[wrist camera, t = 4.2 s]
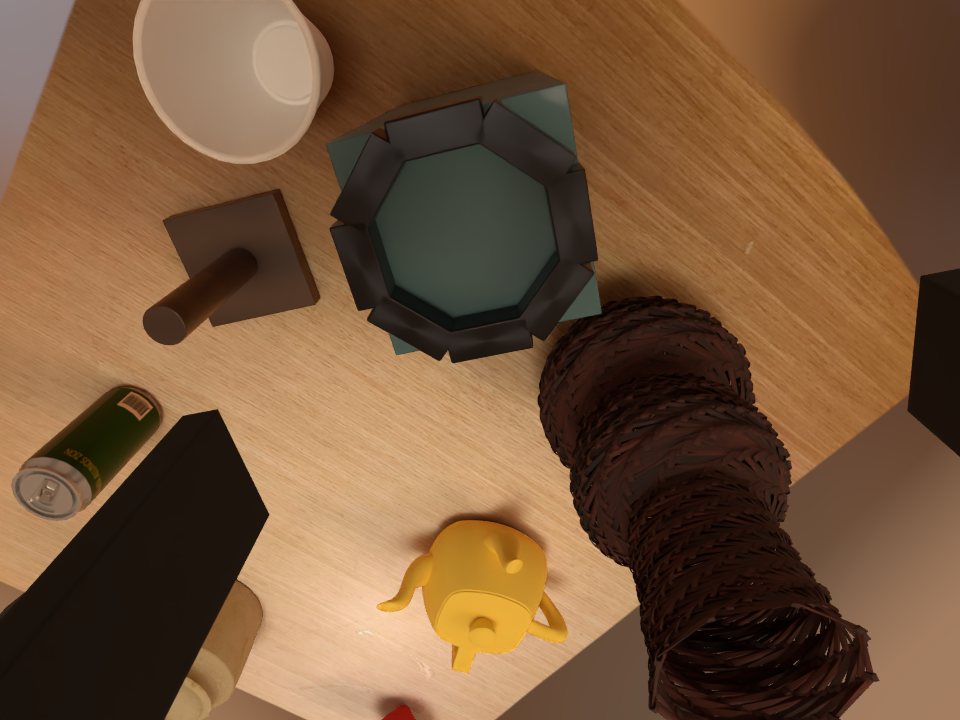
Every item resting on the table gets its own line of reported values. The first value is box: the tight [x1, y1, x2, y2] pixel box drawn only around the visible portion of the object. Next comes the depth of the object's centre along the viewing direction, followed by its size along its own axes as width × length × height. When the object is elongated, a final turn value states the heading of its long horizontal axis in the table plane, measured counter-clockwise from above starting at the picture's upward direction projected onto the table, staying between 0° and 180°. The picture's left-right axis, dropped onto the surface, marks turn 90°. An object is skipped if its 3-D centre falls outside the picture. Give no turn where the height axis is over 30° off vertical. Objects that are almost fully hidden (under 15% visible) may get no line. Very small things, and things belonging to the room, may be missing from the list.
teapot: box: [377, 520, 568, 673], centre depth 57 cm, size 14×13×10 cm
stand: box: [326, 70, 602, 355], centre depth 35 cm, size 10×10×20 cm
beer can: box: [11, 387, 161, 521], centre depth 50 cm, size 5×5×12 cm
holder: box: [143, 189, 320, 345], centre depth 42 cm, size 9×9×14 cm
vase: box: [538, 296, 879, 720], centre depth 38 cm, size 15×15×30 cm
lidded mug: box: [165, 581, 263, 720], centre depth 59 cm, size 15×11×15 cm
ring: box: [330, 96, 598, 363], centre depth 26 cm, size 11×11×2 cm
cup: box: [132, 0, 334, 164], centre depth 37 cm, size 10×10×11 cm
